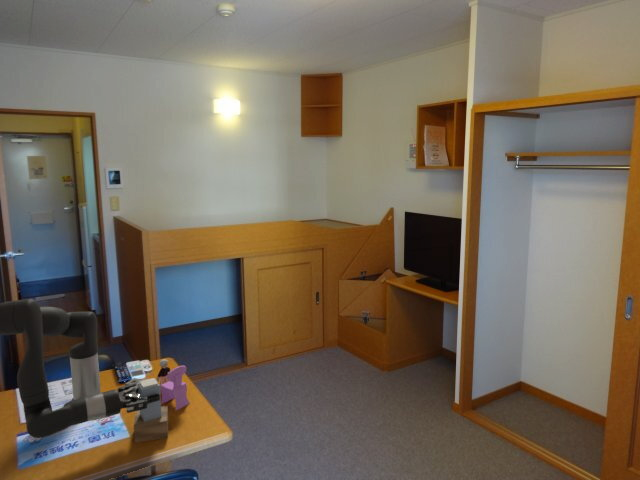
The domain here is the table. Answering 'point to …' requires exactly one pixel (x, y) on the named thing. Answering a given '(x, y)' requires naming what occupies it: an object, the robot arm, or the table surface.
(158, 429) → the walnut block
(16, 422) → the table surface
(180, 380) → the toy chair
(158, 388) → the slate-blue canister
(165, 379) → the grandmother figurine
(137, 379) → the dice cube
